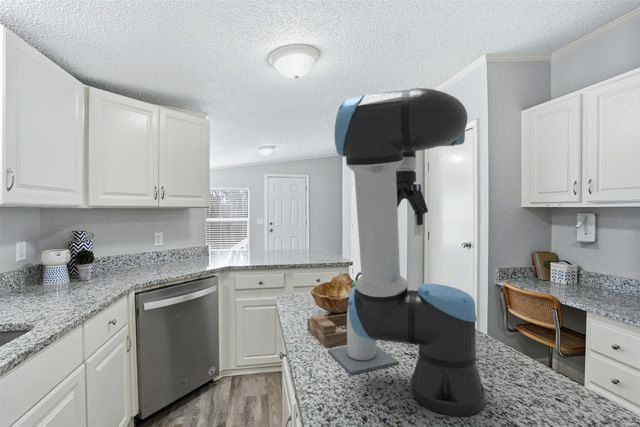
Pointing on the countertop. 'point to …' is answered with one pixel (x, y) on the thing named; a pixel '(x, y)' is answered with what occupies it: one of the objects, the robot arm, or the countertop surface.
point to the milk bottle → (359, 343)
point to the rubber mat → (362, 366)
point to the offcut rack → (328, 329)
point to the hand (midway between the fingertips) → (404, 233)
